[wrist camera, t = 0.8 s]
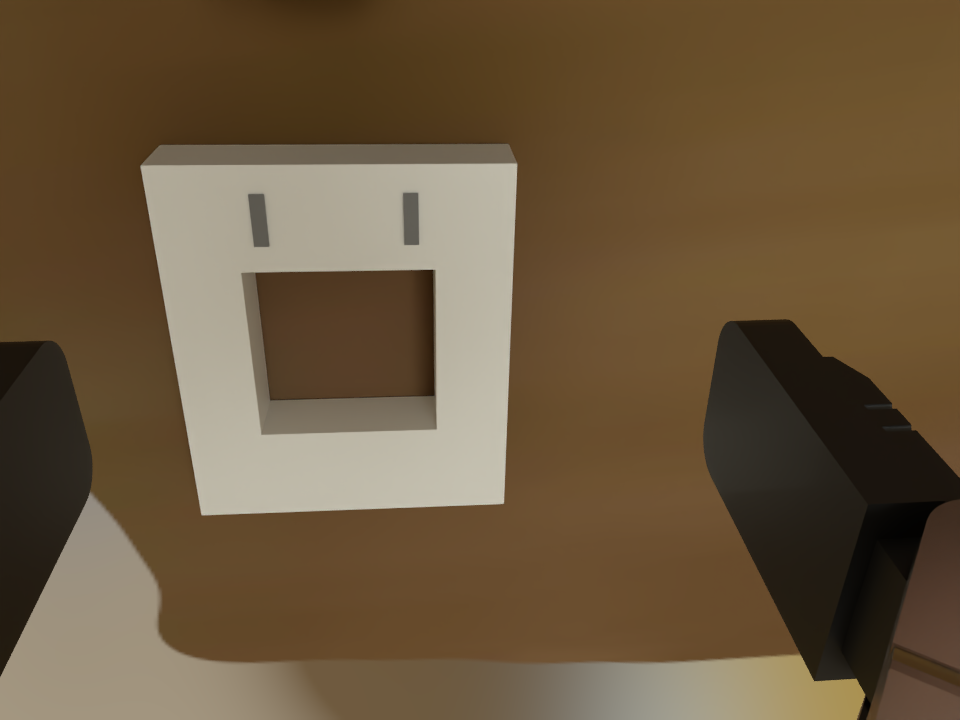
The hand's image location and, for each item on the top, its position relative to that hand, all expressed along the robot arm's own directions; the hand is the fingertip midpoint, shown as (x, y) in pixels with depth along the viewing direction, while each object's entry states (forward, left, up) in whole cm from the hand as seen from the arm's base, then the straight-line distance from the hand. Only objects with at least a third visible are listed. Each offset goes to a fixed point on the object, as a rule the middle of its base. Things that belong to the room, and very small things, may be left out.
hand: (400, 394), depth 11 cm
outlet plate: (+9, -2, -21) cm, 23 cm away
